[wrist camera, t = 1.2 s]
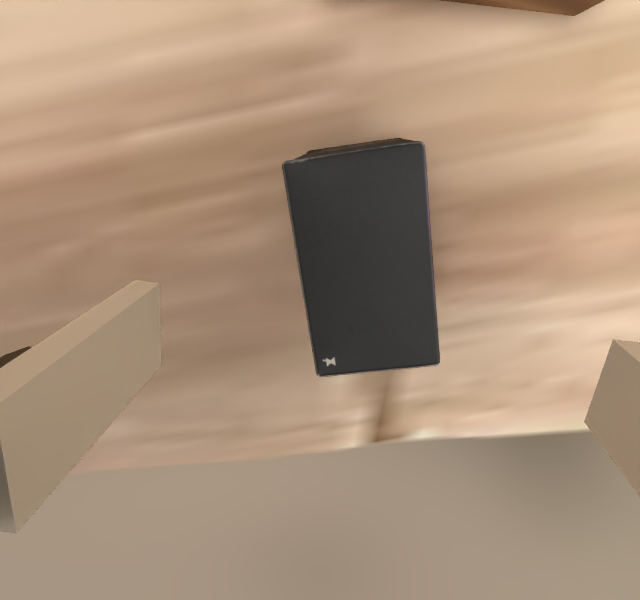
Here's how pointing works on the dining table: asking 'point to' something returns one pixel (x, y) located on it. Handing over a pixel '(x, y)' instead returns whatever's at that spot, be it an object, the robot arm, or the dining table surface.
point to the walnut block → (539, 5)
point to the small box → (365, 255)
